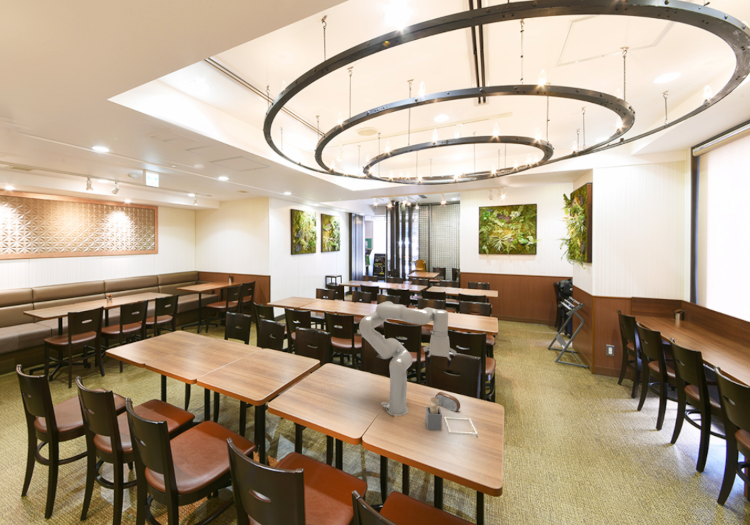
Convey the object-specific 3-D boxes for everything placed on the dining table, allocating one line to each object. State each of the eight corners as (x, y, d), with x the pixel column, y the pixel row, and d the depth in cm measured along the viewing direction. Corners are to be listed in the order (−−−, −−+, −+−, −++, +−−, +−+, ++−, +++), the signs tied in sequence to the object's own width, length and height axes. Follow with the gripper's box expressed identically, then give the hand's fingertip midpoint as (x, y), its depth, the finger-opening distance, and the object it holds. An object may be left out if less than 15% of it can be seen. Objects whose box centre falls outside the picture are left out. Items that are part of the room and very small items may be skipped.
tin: (460, 413, 162) (460, 398, 162) (457, 415, 160) (458, 400, 160) (436, 403, 172) (437, 389, 172) (434, 405, 170) (434, 391, 170)
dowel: (429, 428, 146) (431, 401, 145) (428, 423, 150) (429, 397, 149) (437, 428, 146) (439, 401, 145) (436, 423, 150) (437, 397, 149)
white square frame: (449, 435, 142) (449, 432, 142) (443, 420, 155) (444, 416, 155) (477, 437, 141) (477, 433, 141) (469, 421, 154) (470, 418, 154)
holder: (427, 431, 144) (428, 414, 144) (425, 423, 151) (426, 406, 151) (441, 432, 144) (442, 415, 144) (438, 424, 151) (439, 407, 151)
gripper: (422, 333, 150) (421, 365, 150) (456, 337, 144) (455, 370, 145) (424, 329, 157) (423, 360, 157) (457, 333, 151) (456, 365, 152)
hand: (439, 365), depth 151 cm, fingers open, 9 cm apart
